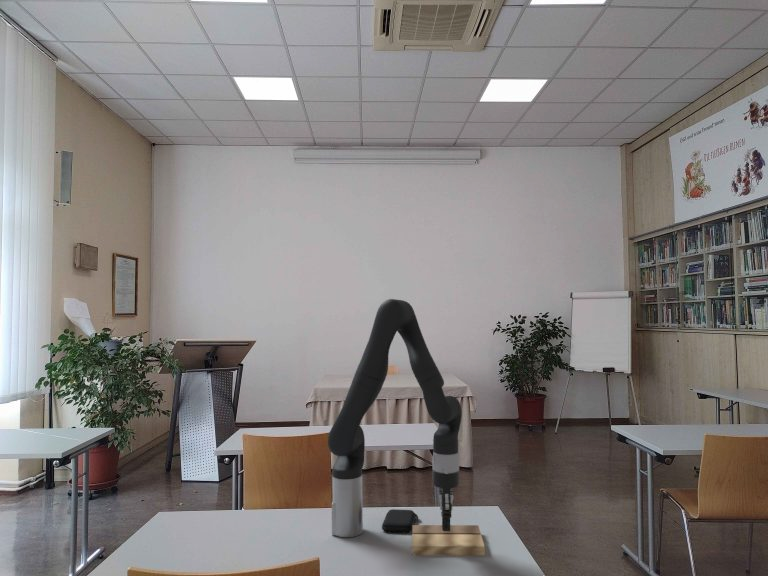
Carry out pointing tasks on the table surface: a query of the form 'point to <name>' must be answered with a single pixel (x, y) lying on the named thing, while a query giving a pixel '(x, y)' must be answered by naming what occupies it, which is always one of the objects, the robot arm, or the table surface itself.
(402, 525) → the carrying case or bag
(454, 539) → the oak plank
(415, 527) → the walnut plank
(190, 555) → the table surface
